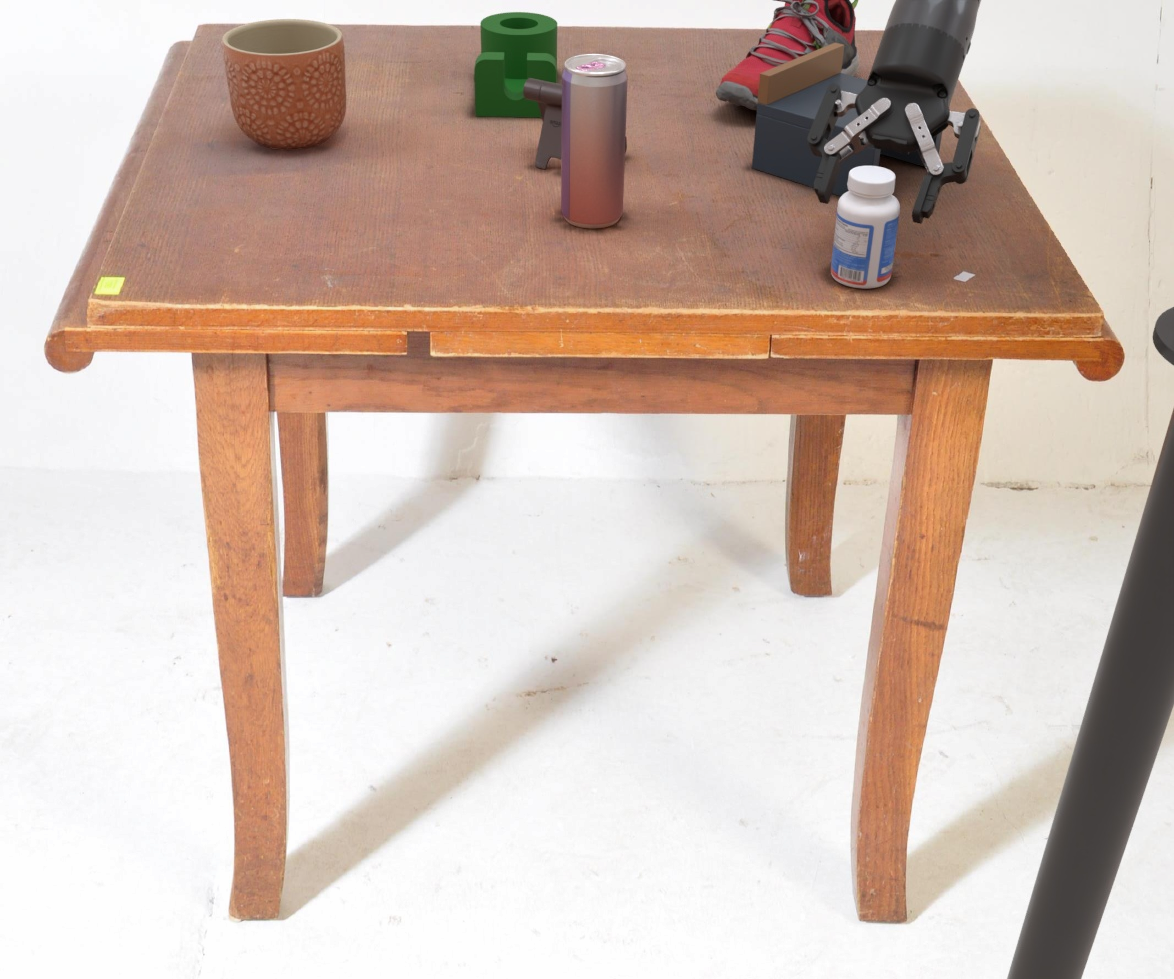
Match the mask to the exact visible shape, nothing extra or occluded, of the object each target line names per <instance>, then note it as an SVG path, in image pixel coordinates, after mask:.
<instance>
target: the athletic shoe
mask: <svg viewBox="0 0 1174 979" xmlns="http://www.w3.org/2000/svg"><path fill="white" fill-rule="evenodd" d="M773 1H775V2H781V3H784V5H783V6H779V7H776V8H775V9H774V10H773V17H772V21H771V22H770V23H769V24H768V26H767V28H766V31H765V33H764V34H762V35H761V36H760V37H759V39H758V44H757V45H754V46H751V47H750V48H749V50H748V52H747V54H746V55H745V58H744V59H743V60H741V61H740V62H739V63H738V64H737V65H736V66H735V67H734V68H732V69H731V70H729V71H728V72H727V73H726V74H725V75H724V76H723V77H721V79H720V80H721V81H720V84H719V86H717V88H716V90H715V96H716V98H717V100H719V101H721V102H728V103H729V104H732V105H735V106H743V107H745V108H747V109H749V110H751V111H756V112H757V103H758V102H757V101H758V90H759V79H760V73H762V72H765V71H767V70H770V69H772V68H775V67H777V66H779V65H782V64H784V63H787V62H789V61H792V60H794V59H796V58H799V57H801V56H804V55H806V54H809V53H811V52H813V51H816V50H818V49H821V48H823V47H826V46H828V45H830V44H833V43H839V44H843V45H844V52H843V61H842V69H841V73H843V74H847V75H850V76H854V77H856V75H857V74H858V71H859V69H860V57H859V51H858V48H857V46H856V36H855V35H856V33H855V32H856V20H857V18H856V14H855V13H856V12H855V9H856V7H857V5H858V4H859V0H853V2H851V0H773Z"/></svg>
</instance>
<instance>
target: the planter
mask: <svg viewBox="0 0 1174 979" xmlns="http://www.w3.org/2000/svg"><path fill="white" fill-rule="evenodd" d="M221 37H222V38H221V51H222V58H223V64H224V70H225V76H226V82H227V88H228V95H229V100H230V106H231V110H232V115H233V117H234V120H235V122H236V124H237V126H238V128H239V130H240V131H241V132H242V133H243V134H244V135H245V136H246V137H248V138H249V139H250V140H252V141H253V142H255V143H256V144H258V145H261V146H263V147H266V148H269V149H274V150H284V151H285V150H286V151H292V150H303V149H308V148H309V149H310V148H313V147H316V146H319V145H321V144H323V143H325V142H326V141H328V140H329V139H331V138H332V137H333V136H334V135H335V134H336V133H337V132H338V131H339V130H340V128H341V127H342V125H343V123H344V121H345V117H346V113H347V112H346V111H347V87H346V86H347V85H346V84H347V83H346V54H345V52H346V51H345V40H344V36H343V33H342V31H341V30H340V29H339V28H337V27H336V26H334V25H332V24H330V23H326V22H322V21H317V20H310V19H301V18H279V19H278V18H277V19H266V20H260V21H259V20H258V21H253V22H247V23H246V24H245V23H244V24H241V25H239V26H236V27H233V28H231V29H230V30H227V32H225V33H224V34H223V36H221Z"/></svg>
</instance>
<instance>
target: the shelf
mask: <svg viewBox="0 0 1174 979" xmlns="http://www.w3.org/2000/svg"><path fill="white" fill-rule="evenodd" d="M843 52H844V45H843V44H839V43H833V44H830V45H828V46H826V47H823V48H821V49H818V50H816V51H813V52H811V53H809V54H806V55H804V56H801V57H799V58H796V59H794V60H792V61H789V62H787V63H784V64H782V65H779V66H777V67H775V68H772V69H770V70H767V71H765V72H762V73H760V79H759V90H758V101H757V102H758V103H757V111H756V116H755V126H754V136H753V147H752V148H753V149H752V160H751V169H754V170H757V171H760V172H764V173H766V174H769V175H772V176H776V177H779V178H781V179H786V180H788V181H792V182H794V183H798V184H801V185H804V186H807V187H811V188H813V189H814V181H815V178H816V175H817V172H818V169H819V166H820V163H821V160H822V158H821V157H820V156H815V155H813V154H812V152H811V149H810V146H809V143H808V140H807V136H808V134H809V131H810V129H811V127H812V124H813V122H814V119H815V117H816V114H817V112H818V110H819V107H820V105H821V102H822V100H823V98H824V95H825V93H826V90H827V88H828V86H829V85H831V84H838V85H839V86H840V89H841V91H845V92H850V93H854V94H859V93H860V92H861V91H862V90H863V89H864V87H865V86H866V84H867V81H868V79H865V78H862V77H857V76H850V75H847V74H843V73H841V69H842V61H843ZM857 117H858V114H857V112H856V108H852V109H849V110H848V111H847V113H846V114H845V115H844V116H843V117H838V119H837V121H836V124H835V126H834V129H833V131H832V134H831V136H830V138H829V141H831V140H832V139H833V138H835V137H836V136H837V135H839V134H840V133H841V132H842V131H843V129H844V128H845V127H846V126H847V125H848V124H849V123H851V122H852V121H853V120H855V119H856V118H857ZM943 131H944V130H943ZM943 131H942V132H941V133H939V134H938V135H937V136H936V137H934V138H933V141H934V144H935V147H936V150H937V152H938V155H940V150H941V143H942V136H943V133H944V132H943ZM881 155H883V156H886V157H890V158H893V159H896V160H900V161H904V162H907V163H911V164H913V165H918V166H920V167H924V165H923V162H922V160H921V158H920V155H919V153H918V150H917V151H914V152H909V155H907V154H902V153H899V152H897V151H895V150H892V149H890V150H881V149H875V148H874V146H873V145H872V144H870V145H869V146H867V147H866V148H865V149H863V150H862V151H860V152H859V153H857V154H855V153H854V154H852V155H851V156H850V157H848V158H847V159H846V160H844V161H843V162H841V163H840V164H839V165H840V171H839V174H838V177H837V180H836V183H835V186H834V189H833V192H832V195H835V196H839V197H841V196H842V195H843V194H844V193H846V192H848V191H849V190H848V186H847V182H848V176H849V172H850V170H851V169H853V168H855V167H859V166H879V163H880V156H881Z"/></svg>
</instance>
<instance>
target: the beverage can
mask: <svg viewBox="0 0 1174 979" xmlns="http://www.w3.org/2000/svg"><path fill="white" fill-rule="evenodd" d="M563 64H564V65H563V67H564V68H563V71H562V74H561V85H562V143H561V161H560V162H561V164H560V212H561V215H562V216H563V218H564V220H565V222H567V223H568V224H569V225H572V226H575V227H578V228H583V229H592V230H593V229H604V228H607V227H611V226H613V225H615V224H616V223H618V221H619V220H620V219H621V217H622V216H623V214H624V193H625V163H626V153H625V139H626V138H627V135H626V134H627V110H628V109H627V106H628V105H627V104H628V103H627V102H628V80H629V79H628V78H629V76H628V73H627V69H626V68H627V63H626V62H625V60H624V59H622V58H620V57H617V56H615V55H611V54H610V55H609V54H605V53H603V54H602V53H583V54H577V55H573V56H571V57H569V58H567V59H565V61H564V63H563Z"/></svg>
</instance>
